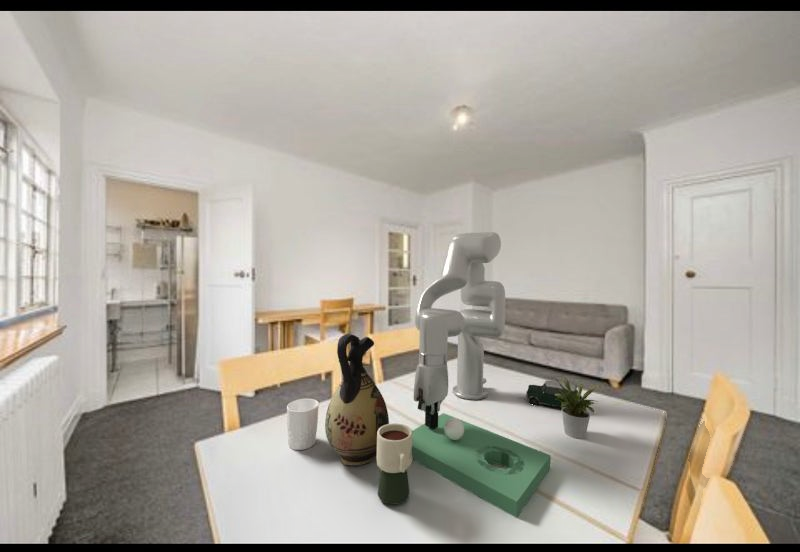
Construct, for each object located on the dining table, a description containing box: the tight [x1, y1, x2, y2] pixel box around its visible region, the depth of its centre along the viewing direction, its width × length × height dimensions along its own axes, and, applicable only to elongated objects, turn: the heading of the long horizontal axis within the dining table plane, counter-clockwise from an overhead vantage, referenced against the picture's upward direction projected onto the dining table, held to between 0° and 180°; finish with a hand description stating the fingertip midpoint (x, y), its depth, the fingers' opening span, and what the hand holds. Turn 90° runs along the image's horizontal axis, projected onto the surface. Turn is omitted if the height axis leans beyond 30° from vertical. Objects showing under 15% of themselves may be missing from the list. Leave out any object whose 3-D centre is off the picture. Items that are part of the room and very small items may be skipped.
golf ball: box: [444, 417, 464, 440], centre depth 77 cm, size 5×5×5 cm
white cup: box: [286, 398, 320, 451], centre depth 79 cm, size 8×8×10 cm
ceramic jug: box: [324, 333, 390, 466], centre depth 74 cm, size 17×15×30 cm
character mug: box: [376, 423, 413, 505], centre depth 61 cm, size 11×7×13 cm, turn 20°
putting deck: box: [412, 412, 552, 519], centre depth 73 cm, size 30×20×3 cm, turn 47°
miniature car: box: [525, 379, 583, 409], centre depth 106 cm, size 9×18×8 cm, turn 62°
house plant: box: [547, 374, 602, 440], centre depth 87 cm, size 14×14×16 cm
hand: (431, 426), depth 82 cm, fingers closed
